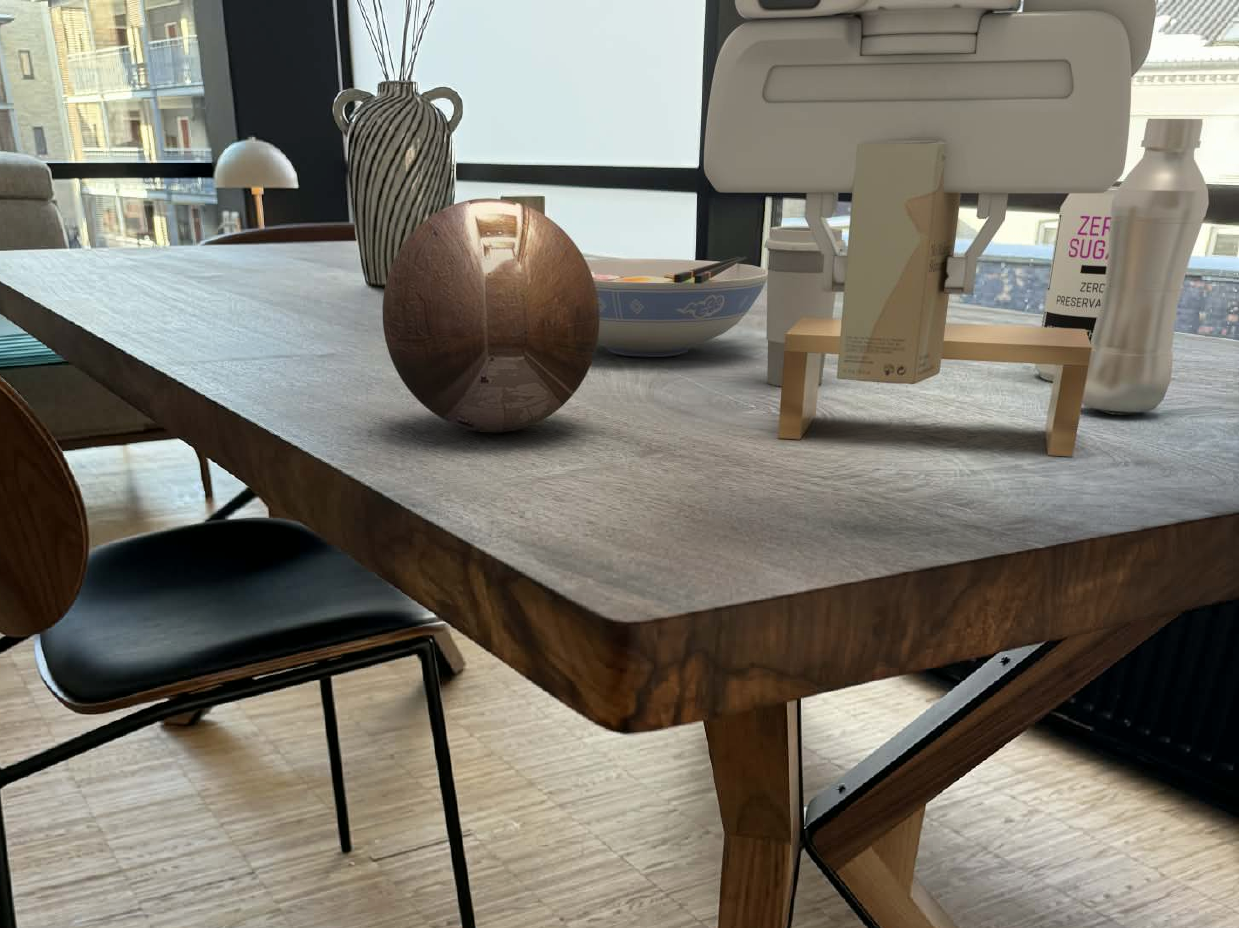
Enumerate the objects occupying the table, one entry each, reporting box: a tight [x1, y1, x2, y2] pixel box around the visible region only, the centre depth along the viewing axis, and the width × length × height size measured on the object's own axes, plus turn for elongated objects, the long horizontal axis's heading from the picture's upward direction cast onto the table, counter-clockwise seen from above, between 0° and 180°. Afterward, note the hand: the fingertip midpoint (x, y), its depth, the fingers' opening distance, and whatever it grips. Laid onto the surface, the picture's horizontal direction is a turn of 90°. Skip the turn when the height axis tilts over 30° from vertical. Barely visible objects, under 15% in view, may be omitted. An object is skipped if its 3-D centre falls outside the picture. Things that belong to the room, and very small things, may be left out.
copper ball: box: [381, 197, 600, 434], centre depth 94 cm, size 15×15×15 cm
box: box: [836, 140, 962, 385], centre depth 69 cm, size 5×4×11 cm
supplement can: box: [1034, 186, 1119, 382], centre depth 115 cm, size 8×8×15 cm
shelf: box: [777, 317, 1092, 458], centre depth 95 cm, size 20×9×7 cm, turn 75°
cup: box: [763, 225, 847, 387], centre depth 113 cm, size 7×7×12 cm
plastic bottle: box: [1082, 118, 1209, 415], centre depth 100 cm, size 6×7×20 cm
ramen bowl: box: [585, 256, 768, 358], centre depth 128 cm, size 25×23×8 cm
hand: (896, 292), depth 70 cm, fingers closed on box, 5 cm apart
